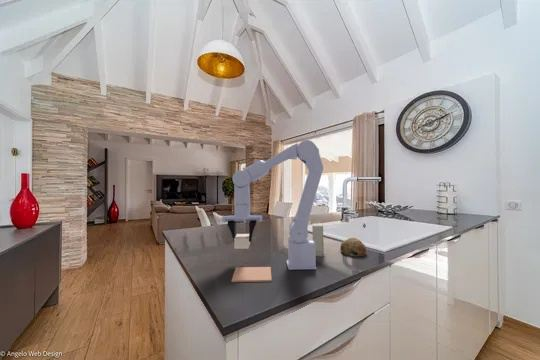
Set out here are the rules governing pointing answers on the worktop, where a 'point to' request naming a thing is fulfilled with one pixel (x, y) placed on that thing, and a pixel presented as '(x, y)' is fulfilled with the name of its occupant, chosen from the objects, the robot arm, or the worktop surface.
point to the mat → (252, 274)
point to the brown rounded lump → (353, 247)
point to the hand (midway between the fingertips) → (242, 241)
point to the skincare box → (318, 239)
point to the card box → (241, 241)
